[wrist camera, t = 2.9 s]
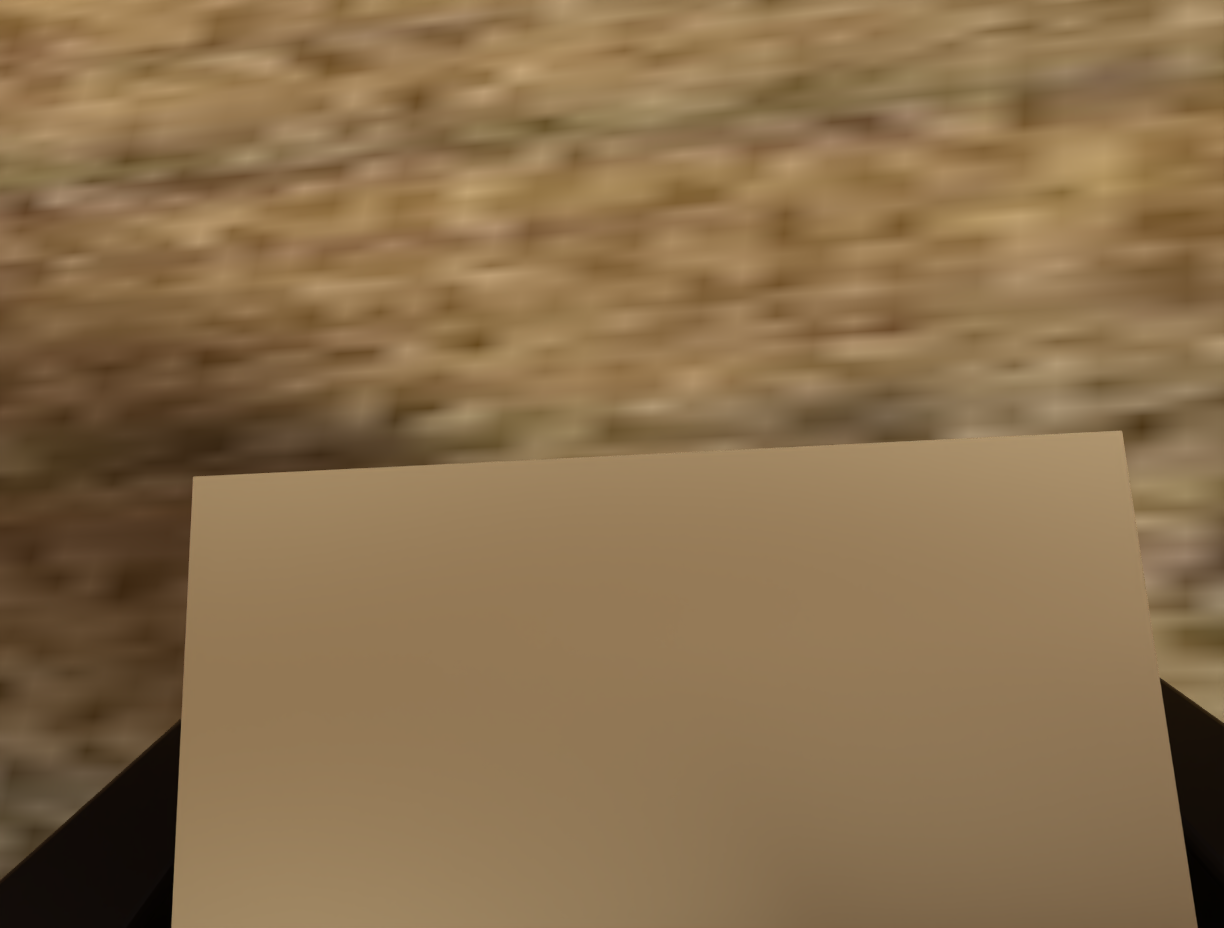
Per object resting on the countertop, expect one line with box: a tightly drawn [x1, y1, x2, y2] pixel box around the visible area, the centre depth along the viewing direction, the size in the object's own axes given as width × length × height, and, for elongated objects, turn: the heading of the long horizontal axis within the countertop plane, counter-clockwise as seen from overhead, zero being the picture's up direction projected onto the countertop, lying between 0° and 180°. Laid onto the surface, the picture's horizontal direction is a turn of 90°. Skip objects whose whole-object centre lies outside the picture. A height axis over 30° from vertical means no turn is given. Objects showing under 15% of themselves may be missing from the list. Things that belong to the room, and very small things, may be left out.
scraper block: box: [171, 431, 1198, 928], centre depth 10 cm, size 4×4×12 cm
